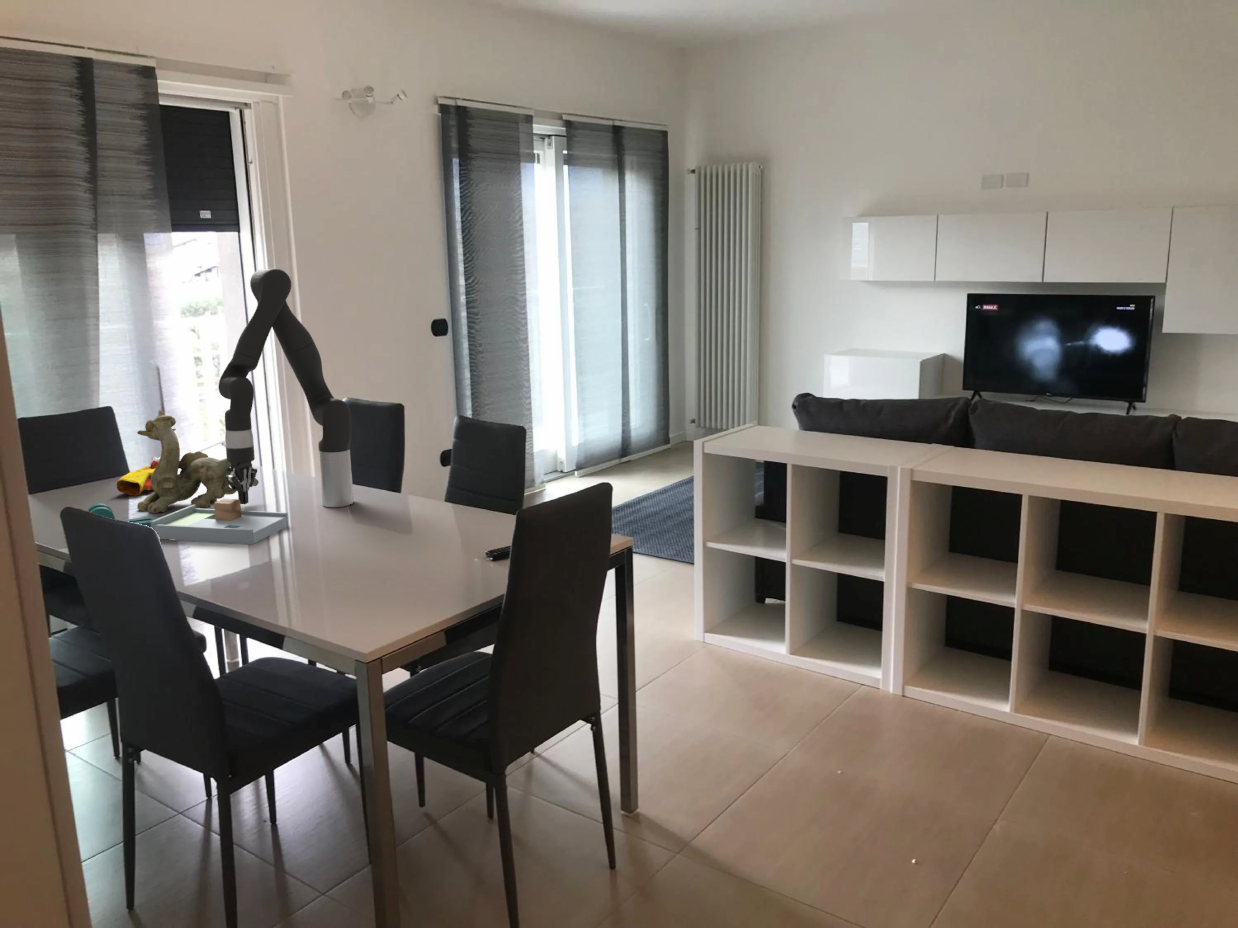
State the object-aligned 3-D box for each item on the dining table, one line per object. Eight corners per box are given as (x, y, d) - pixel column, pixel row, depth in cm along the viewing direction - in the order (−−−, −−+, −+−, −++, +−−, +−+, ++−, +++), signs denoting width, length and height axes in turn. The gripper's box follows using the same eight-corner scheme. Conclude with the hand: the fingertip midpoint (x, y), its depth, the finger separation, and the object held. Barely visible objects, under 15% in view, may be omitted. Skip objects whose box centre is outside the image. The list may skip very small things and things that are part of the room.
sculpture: (213, 487, 330) (220, 401, 321) (255, 517, 314) (264, 428, 305) (123, 499, 308) (128, 407, 299) (163, 531, 292) (169, 435, 283)
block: (225, 515, 284) (224, 498, 283) (241, 516, 283) (240, 499, 282) (215, 520, 279) (213, 502, 278) (231, 520, 278) (230, 503, 277)
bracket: (89, 537, 274) (86, 510, 272) (87, 532, 280) (84, 505, 278) (160, 528, 283) (157, 501, 281) (157, 523, 289) (154, 496, 287)
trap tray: (194, 521, 290) (192, 504, 289) (288, 526, 284) (287, 509, 283) (152, 539, 271) (150, 521, 270) (252, 544, 266) (250, 526, 265)
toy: (152, 475, 318) (191, 448, 347) (113, 475, 318) (155, 449, 347) (156, 501, 321) (195, 472, 350) (117, 501, 321) (159, 472, 350)
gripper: (238, 449, 277) (242, 509, 281) (264, 441, 290) (267, 499, 293) (214, 448, 279) (218, 508, 282) (240, 440, 291) (244, 497, 295)
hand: (243, 503), depth 288 cm, fingers closed
